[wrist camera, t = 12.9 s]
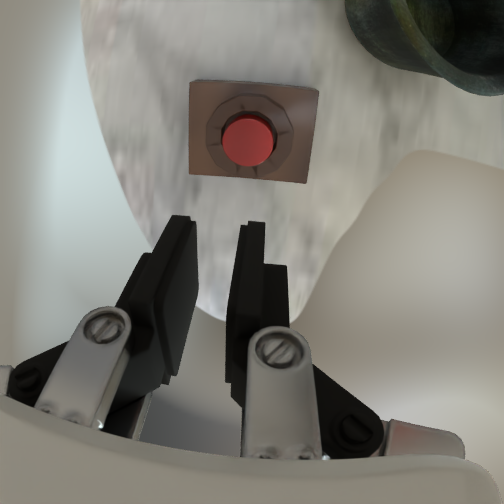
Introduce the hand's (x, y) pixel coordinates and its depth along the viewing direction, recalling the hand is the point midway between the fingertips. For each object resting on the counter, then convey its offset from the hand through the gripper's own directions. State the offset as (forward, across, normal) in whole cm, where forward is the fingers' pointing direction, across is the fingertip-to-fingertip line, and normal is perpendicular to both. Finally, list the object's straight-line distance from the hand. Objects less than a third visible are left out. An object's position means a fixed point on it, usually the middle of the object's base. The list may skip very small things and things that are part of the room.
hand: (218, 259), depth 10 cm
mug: (+19, -11, -14) cm, 26 cm away
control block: (+19, 0, 0) cm, 19 cm away
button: (+16, 0, 0) cm, 16 cm away
